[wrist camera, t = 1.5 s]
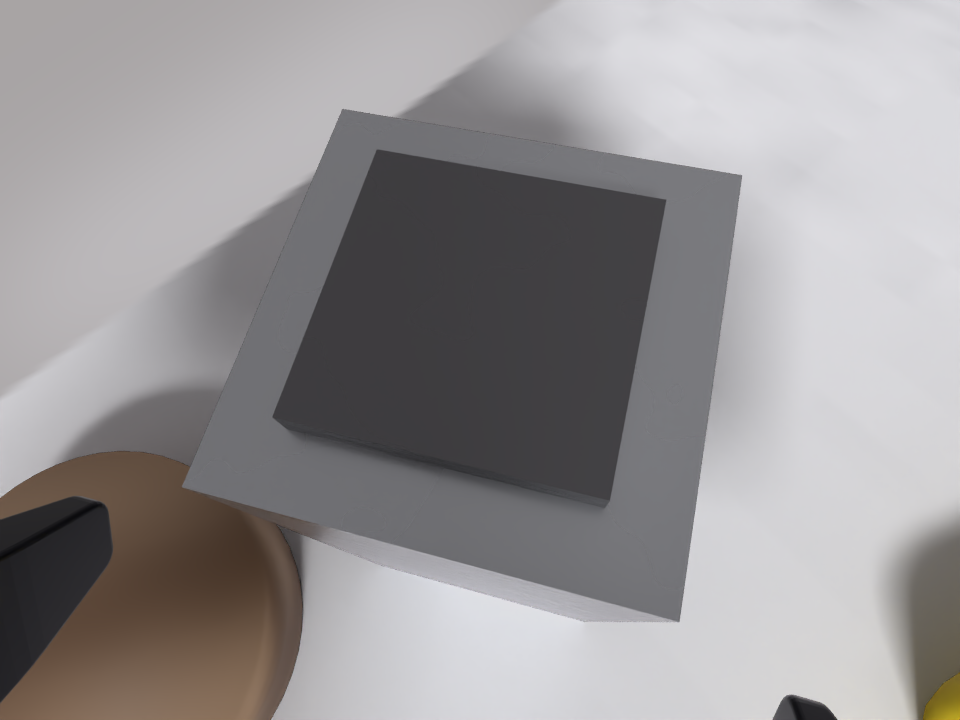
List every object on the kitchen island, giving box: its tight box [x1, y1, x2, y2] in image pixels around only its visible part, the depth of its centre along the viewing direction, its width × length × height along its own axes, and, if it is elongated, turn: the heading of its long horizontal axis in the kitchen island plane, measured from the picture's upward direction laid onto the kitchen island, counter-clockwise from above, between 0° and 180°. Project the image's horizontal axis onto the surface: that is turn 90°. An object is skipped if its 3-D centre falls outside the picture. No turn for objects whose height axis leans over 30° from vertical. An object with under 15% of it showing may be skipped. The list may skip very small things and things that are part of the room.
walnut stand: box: [0, 451, 303, 720], centre depth 17 cm, size 9×9×3 cm
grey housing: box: [182, 109, 742, 622], centre depth 14 cm, size 6×6×12 cm
